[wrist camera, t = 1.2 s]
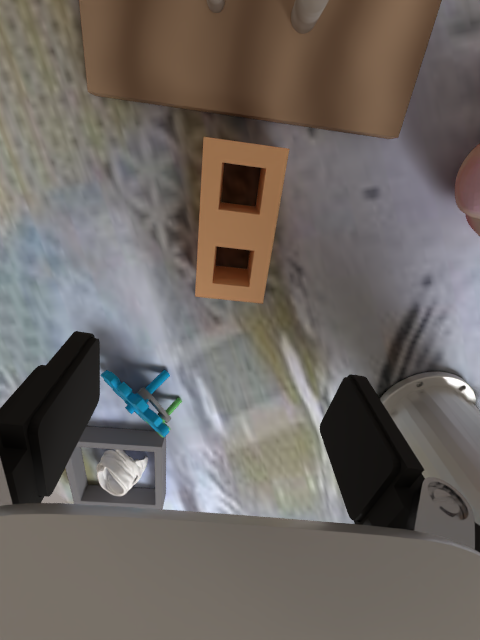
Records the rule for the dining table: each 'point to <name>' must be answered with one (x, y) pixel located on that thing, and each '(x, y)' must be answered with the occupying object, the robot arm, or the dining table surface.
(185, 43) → the locating board
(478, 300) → the dining table surface
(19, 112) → the dining table surface
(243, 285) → the block with square holes
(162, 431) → the gear
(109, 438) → the frame
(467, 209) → the decorative fruit
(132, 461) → the whipped cream
